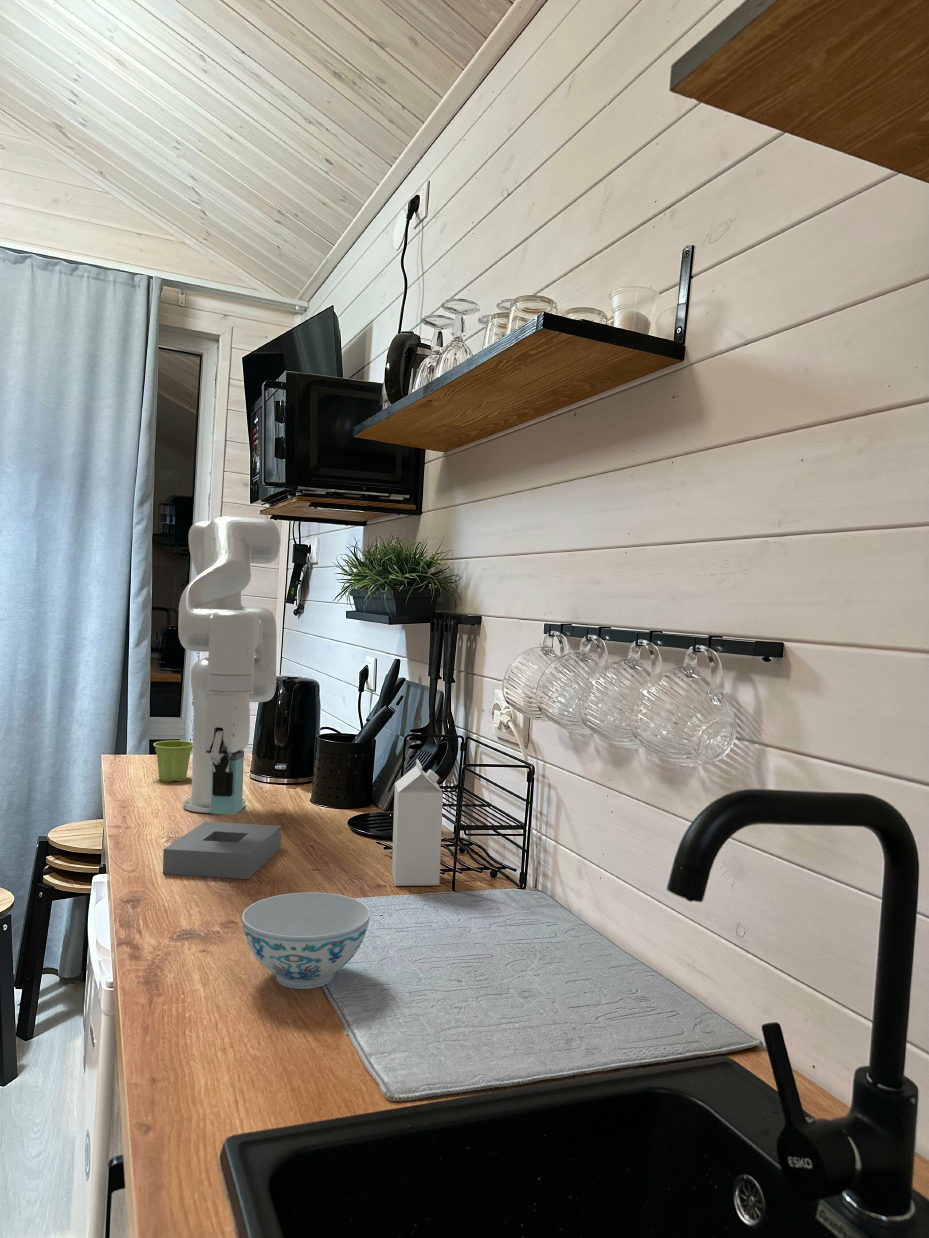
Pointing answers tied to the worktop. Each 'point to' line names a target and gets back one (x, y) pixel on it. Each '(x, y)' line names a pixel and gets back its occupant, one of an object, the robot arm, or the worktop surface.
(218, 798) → the peg
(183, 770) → the plant pot
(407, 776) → the milk carton
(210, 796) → the robot arm
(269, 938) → the chinaware
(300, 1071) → the worktop surface
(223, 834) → the socket block
